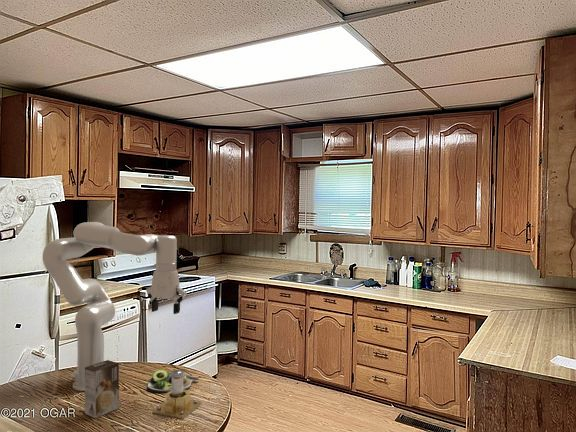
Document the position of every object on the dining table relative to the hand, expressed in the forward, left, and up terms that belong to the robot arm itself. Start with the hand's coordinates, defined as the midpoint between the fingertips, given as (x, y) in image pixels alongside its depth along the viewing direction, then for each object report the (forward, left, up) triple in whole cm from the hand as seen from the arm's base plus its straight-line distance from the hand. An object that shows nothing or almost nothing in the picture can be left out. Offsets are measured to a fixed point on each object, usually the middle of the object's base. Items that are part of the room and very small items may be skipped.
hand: (165, 312), depth 167 cm
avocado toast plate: (-2, +6, -31) cm, 32 cm away
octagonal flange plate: (+13, -11, -30) cm, 35 cm away
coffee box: (-10, -22, -31) cm, 39 cm away
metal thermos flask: (+13, -11, -29) cm, 34 cm away
